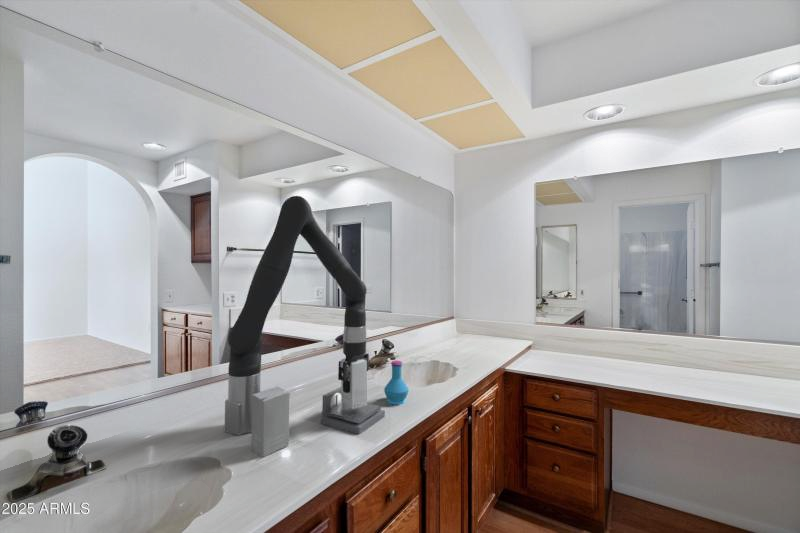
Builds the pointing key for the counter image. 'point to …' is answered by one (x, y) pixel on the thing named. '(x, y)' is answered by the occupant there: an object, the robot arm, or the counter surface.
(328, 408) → the scale base
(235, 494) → the counter surface
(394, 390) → the perfume bottle
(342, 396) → the skincare box
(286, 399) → the skincare box
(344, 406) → the pan
